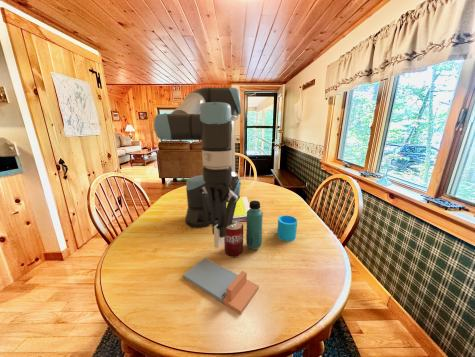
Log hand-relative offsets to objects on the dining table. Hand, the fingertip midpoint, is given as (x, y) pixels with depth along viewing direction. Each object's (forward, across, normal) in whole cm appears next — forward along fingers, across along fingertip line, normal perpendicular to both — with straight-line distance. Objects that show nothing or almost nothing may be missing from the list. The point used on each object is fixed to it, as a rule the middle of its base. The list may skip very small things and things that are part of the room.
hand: (219, 245), depth 57 cm
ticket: (+14, -4, 0) cm, 15 cm away
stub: (+14, +8, 0) cm, 16 cm away
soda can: (+14, -6, +15) cm, 22 cm away
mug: (+14, +6, +39) cm, 42 cm away
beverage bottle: (+14, -1, +22) cm, 27 cm away
